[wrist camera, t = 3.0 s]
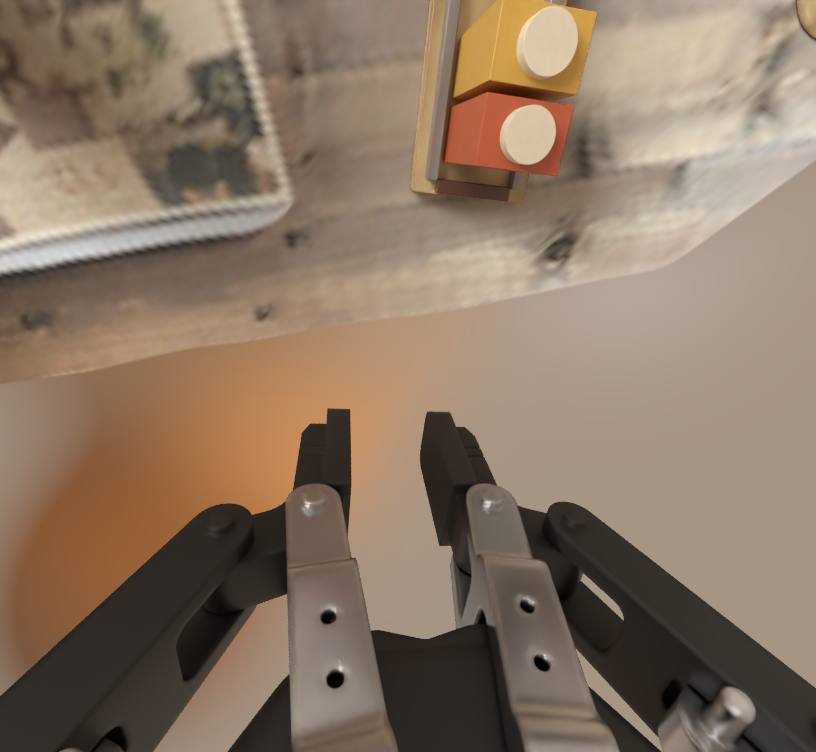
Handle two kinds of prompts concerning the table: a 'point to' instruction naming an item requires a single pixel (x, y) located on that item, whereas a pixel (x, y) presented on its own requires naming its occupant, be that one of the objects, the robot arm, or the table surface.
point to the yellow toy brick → (524, 51)
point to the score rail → (448, 20)
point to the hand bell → (807, 15)
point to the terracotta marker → (508, 133)
